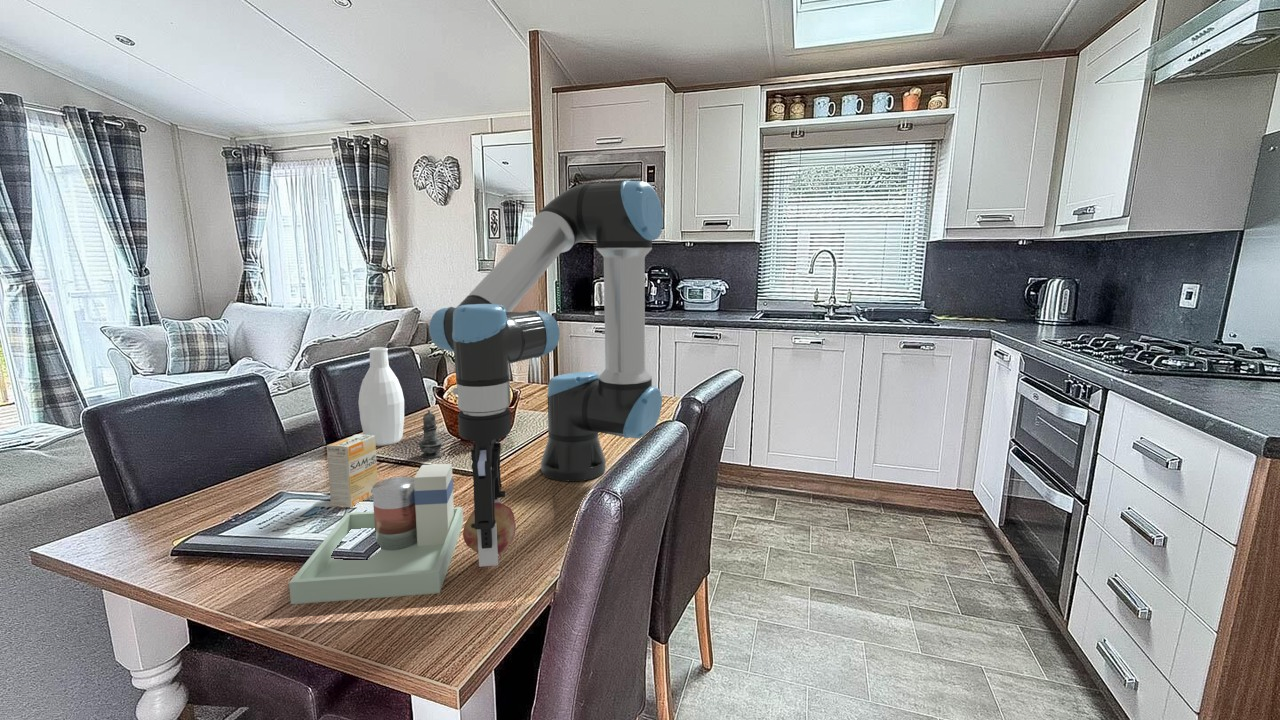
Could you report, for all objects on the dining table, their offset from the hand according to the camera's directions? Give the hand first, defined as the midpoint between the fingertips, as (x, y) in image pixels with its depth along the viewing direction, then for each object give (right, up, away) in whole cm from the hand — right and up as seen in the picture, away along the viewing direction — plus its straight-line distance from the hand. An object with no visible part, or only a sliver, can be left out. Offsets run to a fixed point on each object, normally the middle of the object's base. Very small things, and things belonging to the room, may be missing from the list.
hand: (491, 550), depth 86 cm
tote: (-17, -3, +2) cm, 17 cm away
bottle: (-46, +8, +63) cm, 79 cm away
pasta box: (-12, -1, +9) cm, 15 cm away
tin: (-18, -1, +8) cm, 20 cm away
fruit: (0, -1, 0) cm, 1 cm away
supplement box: (-34, +1, +24) cm, 42 cm away
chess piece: (-29, +5, +52) cm, 60 cm away
